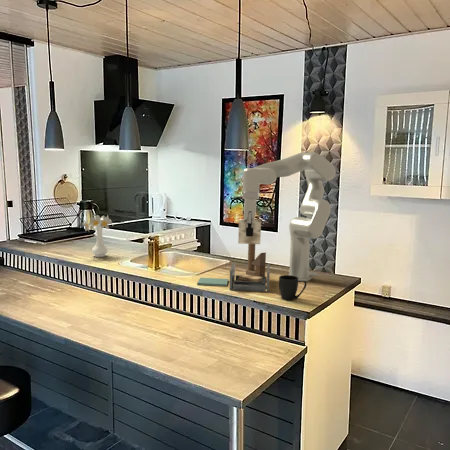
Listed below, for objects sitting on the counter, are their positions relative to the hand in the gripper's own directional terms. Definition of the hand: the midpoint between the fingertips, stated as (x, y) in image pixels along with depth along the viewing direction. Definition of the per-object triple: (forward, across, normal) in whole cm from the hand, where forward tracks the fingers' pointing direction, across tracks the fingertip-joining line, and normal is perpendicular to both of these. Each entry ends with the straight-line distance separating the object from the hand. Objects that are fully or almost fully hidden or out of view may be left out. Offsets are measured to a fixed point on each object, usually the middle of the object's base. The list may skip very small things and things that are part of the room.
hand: (249, 235), depth 204 cm
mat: (+25, -7, -17) cm, 31 cm away
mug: (+25, +14, +20) cm, 35 cm away
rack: (+25, -5, +1) cm, 26 cm away
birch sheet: (+4, 0, 0) cm, 4 cm away
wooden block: (+25, -20, +3) cm, 32 cm away
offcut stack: (+26, -8, +1) cm, 27 cm away
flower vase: (+25, -54, -92) cm, 109 cm away
